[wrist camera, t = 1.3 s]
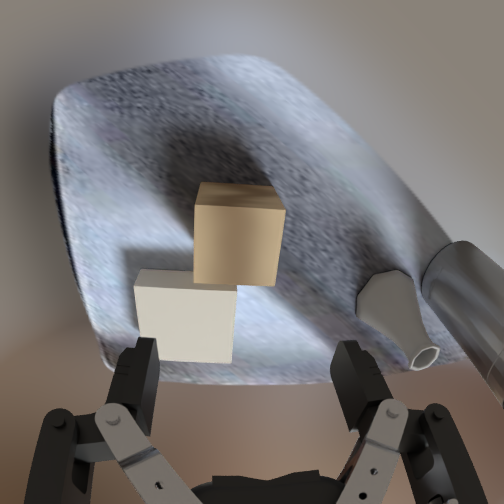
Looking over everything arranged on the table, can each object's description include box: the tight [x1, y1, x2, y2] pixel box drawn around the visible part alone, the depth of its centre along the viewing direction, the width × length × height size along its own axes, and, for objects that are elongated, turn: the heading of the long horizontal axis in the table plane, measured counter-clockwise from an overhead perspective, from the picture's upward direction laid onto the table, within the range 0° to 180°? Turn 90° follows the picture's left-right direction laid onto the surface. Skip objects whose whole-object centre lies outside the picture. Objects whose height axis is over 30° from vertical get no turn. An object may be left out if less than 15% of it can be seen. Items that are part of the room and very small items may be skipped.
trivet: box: [134, 269, 237, 363], centre depth 30 cm, size 9×9×3 cm
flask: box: [356, 270, 440, 371], centre depth 29 cm, size 7×7×10 cm
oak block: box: [194, 182, 286, 286], centre depth 25 cm, size 6×6×6 cm
